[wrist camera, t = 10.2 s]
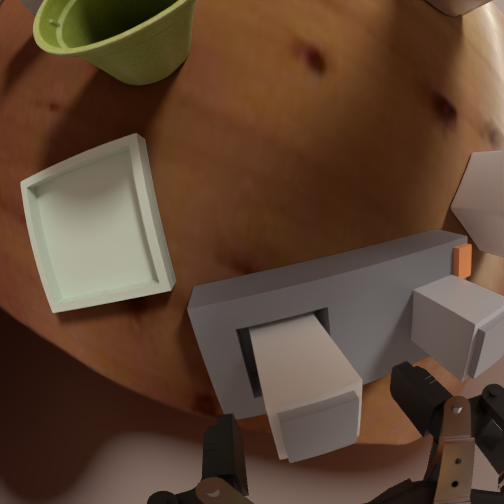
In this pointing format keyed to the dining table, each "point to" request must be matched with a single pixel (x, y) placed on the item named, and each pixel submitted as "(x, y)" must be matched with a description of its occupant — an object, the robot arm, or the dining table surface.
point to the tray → (98, 227)
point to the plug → (306, 387)
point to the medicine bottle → (483, 201)
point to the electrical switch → (32, 5)
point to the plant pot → (119, 35)
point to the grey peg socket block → (355, 313)
